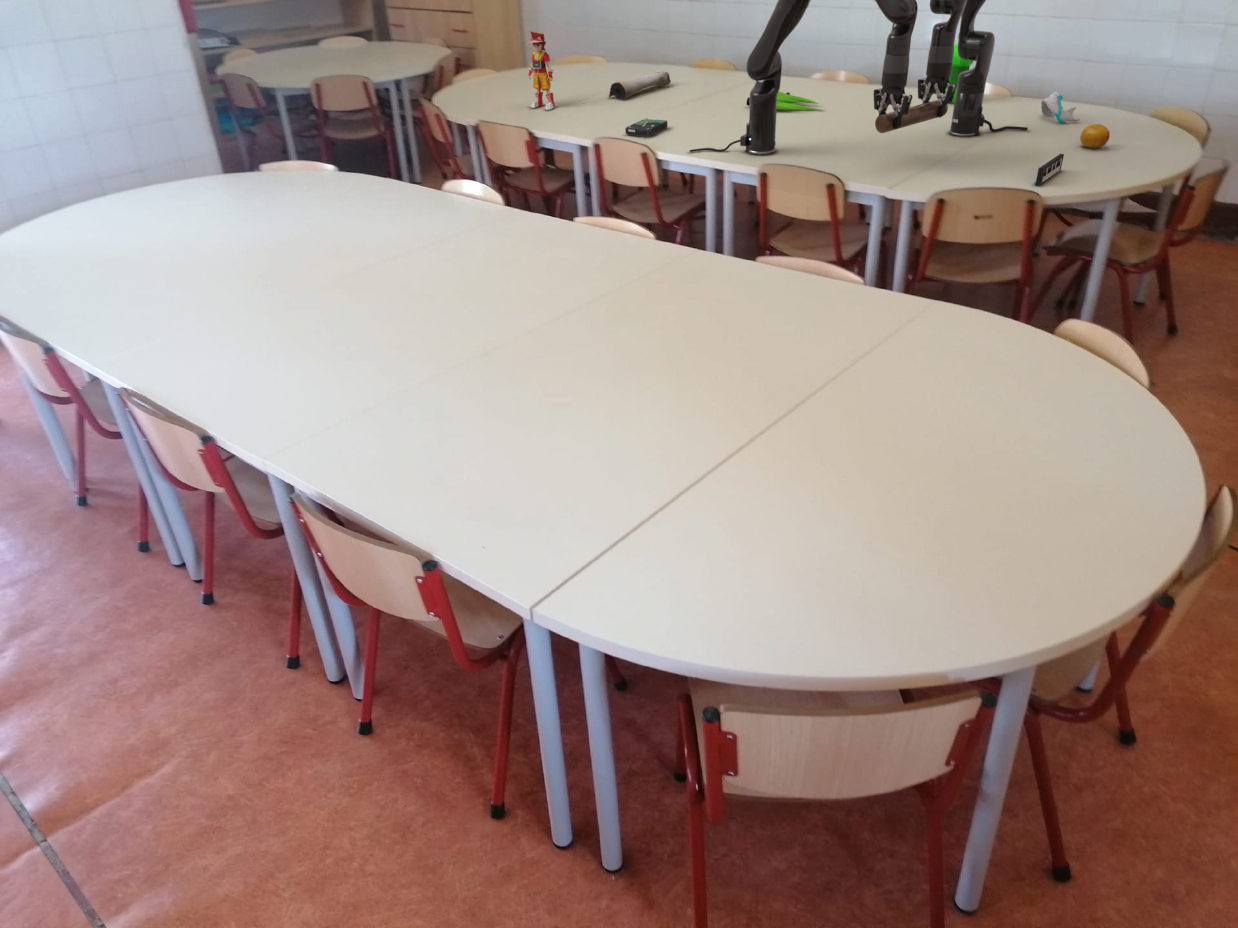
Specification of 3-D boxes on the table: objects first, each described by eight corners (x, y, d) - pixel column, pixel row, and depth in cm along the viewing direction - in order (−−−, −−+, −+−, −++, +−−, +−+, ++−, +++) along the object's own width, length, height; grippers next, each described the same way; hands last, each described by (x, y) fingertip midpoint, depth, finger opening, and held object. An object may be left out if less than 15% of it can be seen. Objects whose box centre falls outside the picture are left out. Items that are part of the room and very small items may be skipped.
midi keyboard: (1039, 185, 269) (1043, 168, 266) (1035, 184, 270) (1038, 168, 267) (1060, 170, 279) (1064, 154, 277) (1056, 169, 280) (1060, 153, 277)
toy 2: (737, 109, 358) (807, 121, 345) (739, 95, 355) (810, 107, 342) (766, 99, 378) (833, 110, 366) (767, 86, 375) (835, 96, 363)
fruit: (1076, 138, 294) (1094, 116, 291) (1073, 141, 302) (1090, 120, 299) (1098, 153, 293) (1116, 131, 290) (1095, 155, 300) (1112, 134, 297)
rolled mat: (651, 76, 408) (662, 61, 399) (662, 93, 408) (674, 79, 400) (605, 92, 391) (616, 77, 383) (617, 110, 391) (628, 95, 383)
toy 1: (525, 109, 381) (517, 32, 364) (534, 104, 388) (527, 28, 371) (550, 110, 377) (543, 32, 360) (559, 105, 384) (553, 28, 367)
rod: (933, 114, 296) (935, 97, 293) (946, 117, 293) (949, 100, 290) (874, 131, 285) (876, 113, 282) (887, 134, 281) (889, 117, 278)
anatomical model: (1035, 91, 328) (1062, 83, 328) (1034, 119, 334) (1061, 112, 334) (1054, 100, 316) (1083, 93, 315) (1053, 130, 322) (1081, 122, 321)
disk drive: (648, 138, 335) (668, 127, 345) (648, 130, 333) (667, 120, 343) (625, 135, 340) (644, 125, 350) (624, 127, 338) (644, 117, 348)
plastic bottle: (973, 101, 354) (984, 32, 339) (955, 106, 349) (966, 36, 335) (952, 97, 361) (962, 29, 346) (934, 102, 356) (944, 33, 342)
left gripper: (869, 68, 277) (863, 124, 287) (905, 75, 267) (898, 133, 277) (886, 64, 281) (880, 120, 290) (922, 71, 270) (914, 128, 280)
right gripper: (914, 58, 286) (907, 113, 296) (950, 65, 276) (942, 121, 286) (930, 54, 289) (923, 109, 299) (966, 61, 279) (958, 117, 289)
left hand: (888, 126), depth 283 cm, fingers closed on rod, 5 cm apart
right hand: (932, 115), depth 292 cm, fingers closed on rod, 5 cm apart
